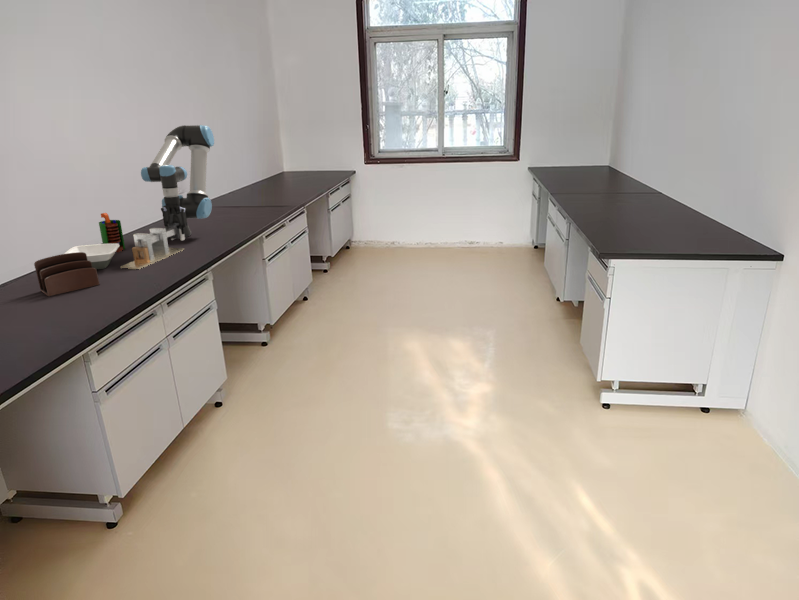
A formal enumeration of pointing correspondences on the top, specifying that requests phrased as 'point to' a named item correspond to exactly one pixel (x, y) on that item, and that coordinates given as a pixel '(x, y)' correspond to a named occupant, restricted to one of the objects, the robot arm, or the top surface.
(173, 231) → the shaft
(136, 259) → the spacer
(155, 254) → the frame
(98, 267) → the bowl
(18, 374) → the top surface
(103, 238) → the motor
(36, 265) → the letter holder
